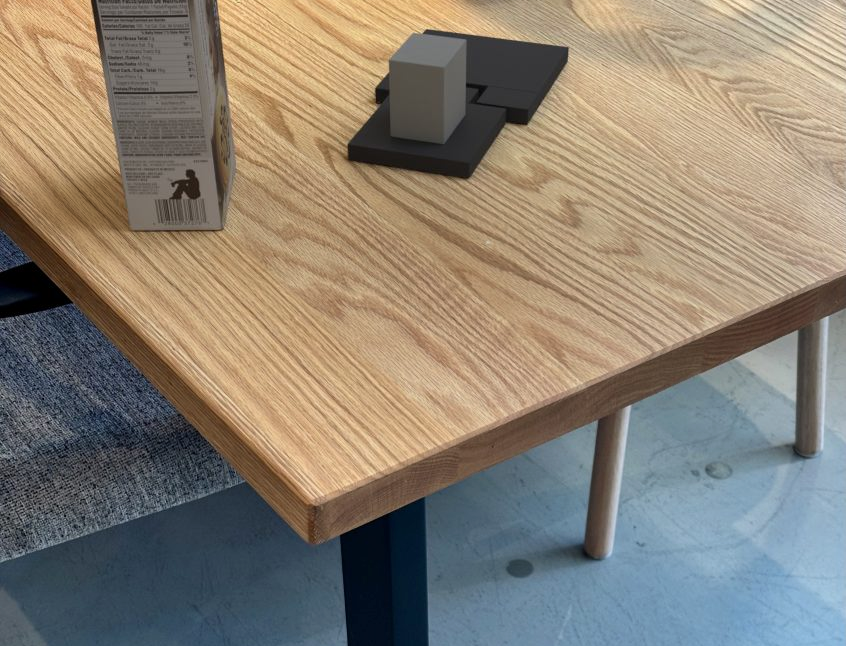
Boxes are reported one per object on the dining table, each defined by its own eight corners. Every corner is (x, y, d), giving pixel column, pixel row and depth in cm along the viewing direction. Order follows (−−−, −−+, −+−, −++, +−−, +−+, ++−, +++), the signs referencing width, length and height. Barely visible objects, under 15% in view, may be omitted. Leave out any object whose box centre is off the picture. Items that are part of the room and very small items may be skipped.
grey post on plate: (515, 109, 100) (519, 19, 95) (469, 178, 91) (470, 84, 87) (402, 93, 102) (401, 4, 97) (347, 159, 94) (343, 66, 89)
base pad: (567, 61, 106) (568, 46, 105) (527, 124, 98) (528, 109, 97) (426, 43, 109) (426, 28, 108) (375, 102, 101) (374, 87, 100)
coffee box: (147, 167, 93) (109, -72, 82) (238, 166, 93) (212, -73, 82) (126, 232, 86) (82, -19, 76) (225, 231, 86) (195, -20, 76)
